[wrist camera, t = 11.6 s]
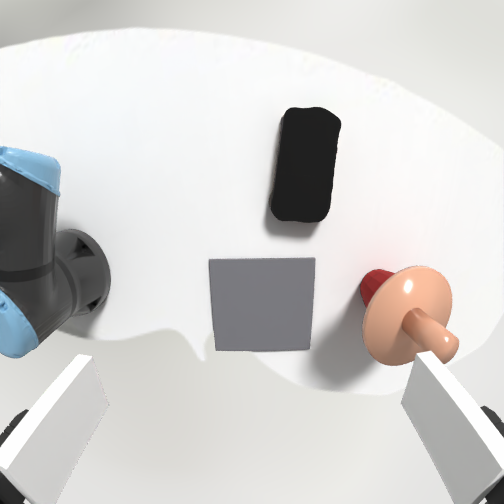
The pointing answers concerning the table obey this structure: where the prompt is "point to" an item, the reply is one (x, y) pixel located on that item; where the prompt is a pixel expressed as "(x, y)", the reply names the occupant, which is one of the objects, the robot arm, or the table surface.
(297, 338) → the mat
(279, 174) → the black sponge
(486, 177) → the table surface
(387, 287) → the lid
